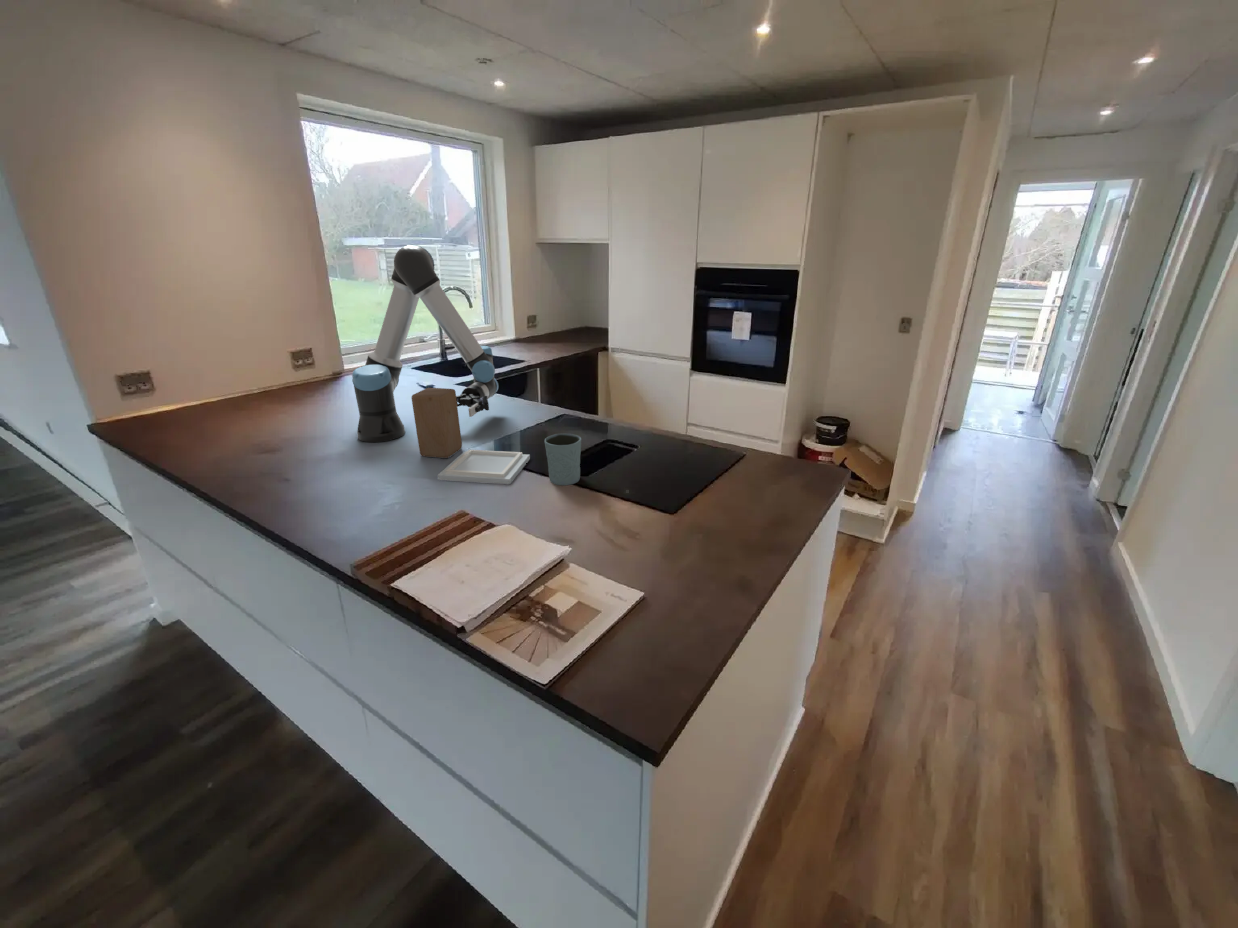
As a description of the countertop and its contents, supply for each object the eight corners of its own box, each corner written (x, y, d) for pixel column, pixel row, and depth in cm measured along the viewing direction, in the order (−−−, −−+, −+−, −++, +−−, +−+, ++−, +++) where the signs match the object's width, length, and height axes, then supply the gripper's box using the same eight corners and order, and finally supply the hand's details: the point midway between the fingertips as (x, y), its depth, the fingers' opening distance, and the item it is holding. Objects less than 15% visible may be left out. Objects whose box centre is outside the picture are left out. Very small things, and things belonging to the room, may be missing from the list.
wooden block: (448, 459, 167) (440, 396, 159) (419, 457, 169) (409, 394, 161) (463, 448, 176) (456, 388, 168) (435, 446, 178) (427, 386, 170)
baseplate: (465, 455, 170) (464, 448, 169) (530, 459, 167) (529, 451, 166) (438, 480, 152) (437, 471, 152) (509, 484, 150) (509, 476, 149)
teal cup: (554, 489, 147) (552, 447, 142) (541, 475, 155) (539, 436, 151) (588, 481, 151) (587, 441, 147) (574, 469, 159) (572, 430, 155)
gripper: (509, 406, 195) (487, 424, 176) (443, 404, 198) (415, 421, 179) (507, 386, 192) (485, 402, 173) (440, 384, 196) (412, 399, 176)
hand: (450, 412), depth 176 cm, fingers open, 13 cm apart
